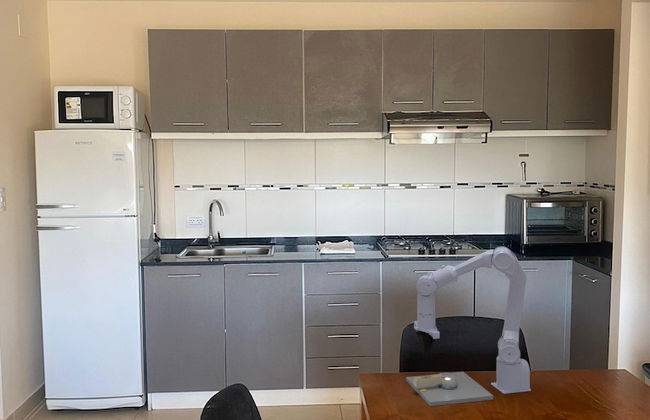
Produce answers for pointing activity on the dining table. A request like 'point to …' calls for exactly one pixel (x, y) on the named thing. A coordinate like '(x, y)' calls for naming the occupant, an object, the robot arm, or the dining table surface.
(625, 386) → the dining table surface
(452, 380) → the door lever handle
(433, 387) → the lock plate
